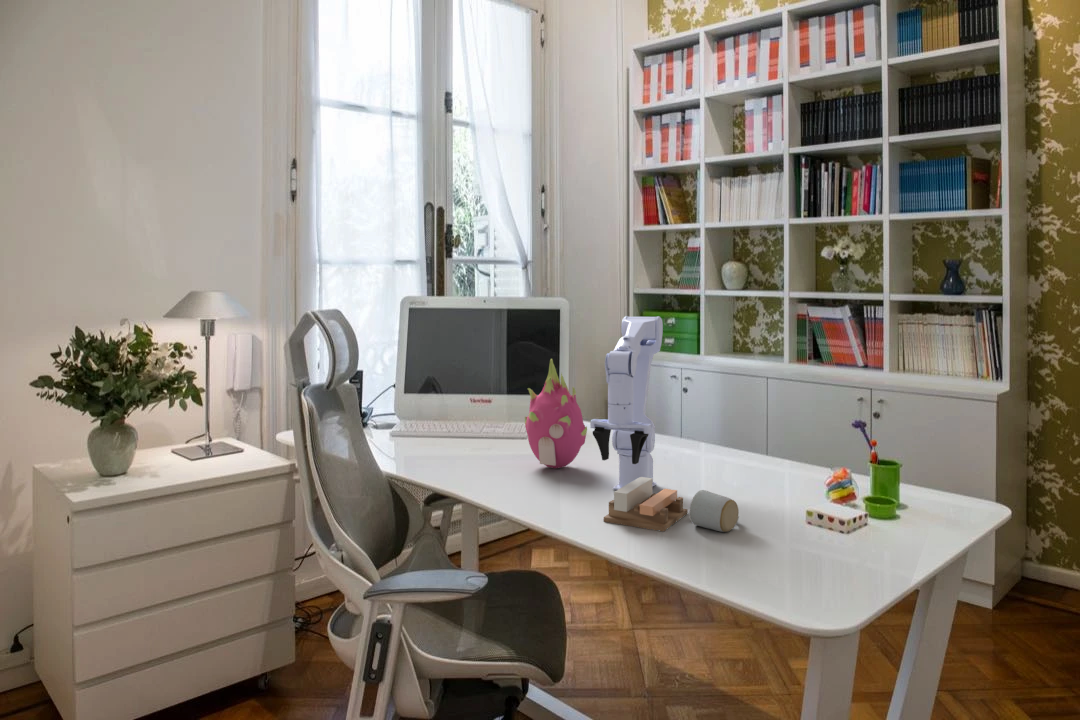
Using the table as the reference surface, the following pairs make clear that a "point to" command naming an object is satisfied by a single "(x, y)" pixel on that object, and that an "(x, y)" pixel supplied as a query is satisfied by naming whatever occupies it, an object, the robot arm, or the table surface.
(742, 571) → the table surface
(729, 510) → the grey cylinder
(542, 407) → the pink dragon fruit
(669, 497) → the fired strip
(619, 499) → the pale grey bar
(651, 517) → the slotted wooden stand
